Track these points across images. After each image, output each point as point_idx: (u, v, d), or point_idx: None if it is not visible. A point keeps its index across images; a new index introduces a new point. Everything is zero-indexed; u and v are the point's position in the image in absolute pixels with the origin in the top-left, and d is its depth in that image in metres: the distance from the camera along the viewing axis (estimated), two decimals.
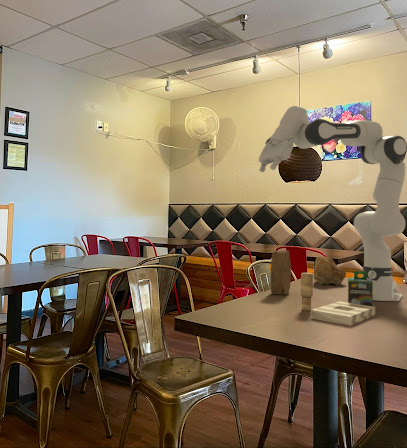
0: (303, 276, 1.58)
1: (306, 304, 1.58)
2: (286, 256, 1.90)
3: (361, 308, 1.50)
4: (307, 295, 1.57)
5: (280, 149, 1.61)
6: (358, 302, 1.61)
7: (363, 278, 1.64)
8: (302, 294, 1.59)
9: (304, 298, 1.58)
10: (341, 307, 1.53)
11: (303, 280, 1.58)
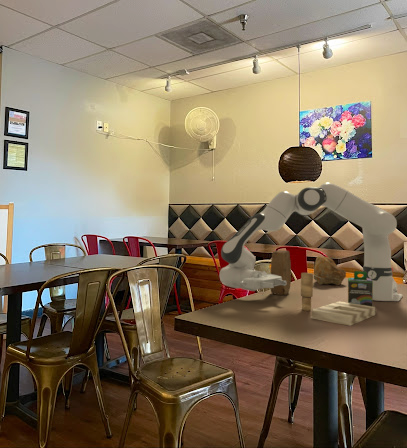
0: (303, 276, 1.58)
1: (306, 304, 1.58)
2: (286, 256, 1.90)
3: (361, 308, 1.50)
4: (307, 295, 1.57)
5: None
6: (358, 302, 1.61)
7: (363, 278, 1.64)
8: (302, 294, 1.59)
9: (304, 298, 1.58)
10: (341, 307, 1.53)
11: (303, 280, 1.58)
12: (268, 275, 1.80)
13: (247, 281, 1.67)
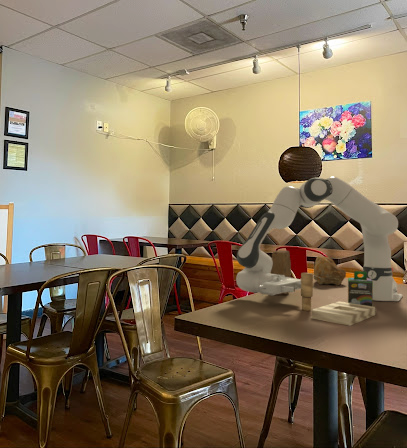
0: (303, 276, 1.58)
1: (306, 304, 1.58)
2: (286, 256, 1.90)
3: (361, 308, 1.50)
4: (307, 295, 1.57)
5: None
6: (358, 302, 1.61)
7: (363, 278, 1.64)
8: (302, 294, 1.59)
9: (304, 298, 1.58)
10: (341, 307, 1.53)
11: (303, 280, 1.58)
12: (287, 279, 1.74)
13: (267, 285, 1.60)
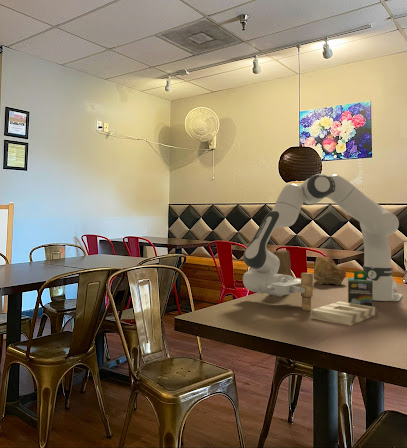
0: (303, 276, 1.58)
1: (306, 304, 1.58)
2: (286, 256, 1.90)
3: (361, 308, 1.50)
4: (307, 295, 1.57)
5: None
6: (358, 302, 1.61)
7: (363, 278, 1.64)
8: (302, 294, 1.59)
9: (304, 298, 1.58)
10: (341, 307, 1.53)
11: (303, 280, 1.58)
12: (295, 279, 1.71)
13: (275, 286, 1.58)
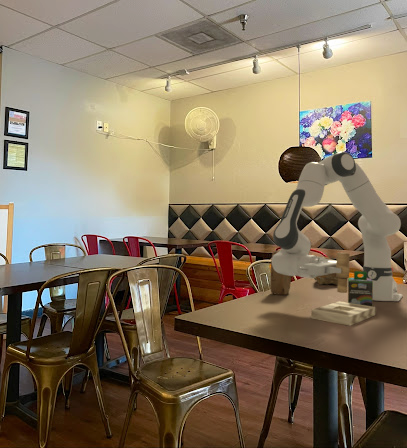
0: (339, 256, 1.49)
1: (343, 286, 1.48)
2: None
3: (361, 308, 1.50)
4: (343, 276, 1.48)
5: None
6: (358, 302, 1.61)
7: (363, 278, 1.64)
8: (338, 275, 1.49)
9: (340, 279, 1.49)
10: (341, 307, 1.53)
11: (339, 260, 1.49)
12: (328, 261, 1.61)
13: (309, 266, 1.48)
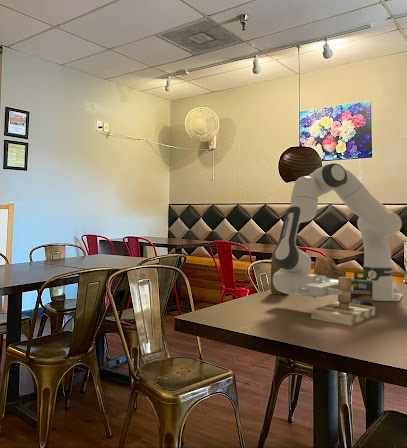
0: (341, 281, 1.48)
1: None
2: None
3: (361, 308, 1.50)
4: (345, 301, 1.47)
5: None
6: (358, 302, 1.61)
7: (363, 278, 1.64)
8: (340, 300, 1.48)
9: (342, 304, 1.48)
10: None
11: (341, 285, 1.48)
12: (329, 280, 1.61)
13: (311, 287, 1.48)
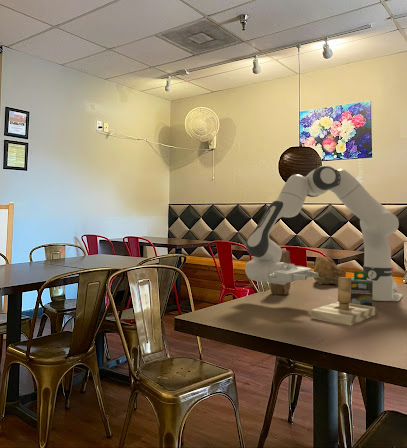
0: (341, 281, 1.48)
1: None
2: (286, 256, 1.90)
3: (361, 308, 1.50)
4: (345, 301, 1.47)
5: None
6: (358, 302, 1.61)
7: (363, 278, 1.64)
8: (340, 300, 1.48)
9: (342, 304, 1.48)
10: None
11: (341, 285, 1.48)
12: (297, 267, 1.71)
13: (278, 274, 1.58)
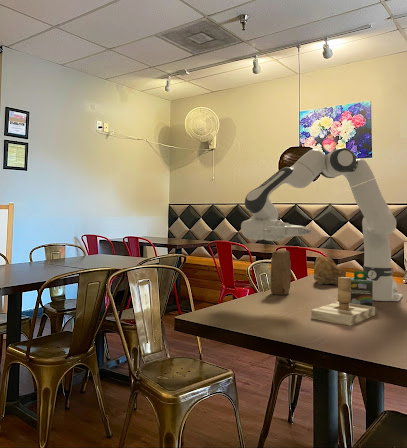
0: (341, 281, 1.48)
1: None
2: (286, 256, 1.90)
3: (361, 308, 1.50)
4: (345, 301, 1.47)
5: None
6: (358, 302, 1.61)
7: (363, 278, 1.64)
8: (339, 300, 1.48)
9: (342, 304, 1.48)
10: None
11: (341, 285, 1.48)
12: (291, 226, 1.76)
13: (271, 228, 1.62)
